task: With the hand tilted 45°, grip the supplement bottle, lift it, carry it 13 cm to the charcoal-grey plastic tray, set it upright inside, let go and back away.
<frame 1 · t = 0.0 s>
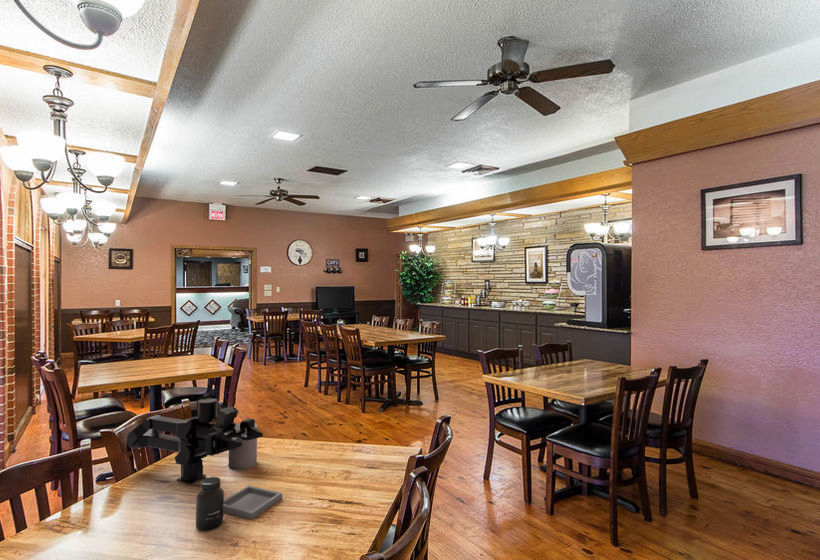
hand: (252, 439, 139), 17 cm above the table, tool horizontal, fingers open, 9 cm apart
pillar candle: (243, 465, 161), on the table
supplement bottle: (209, 525, 121), on the table
tray: (250, 504, 132), on the table
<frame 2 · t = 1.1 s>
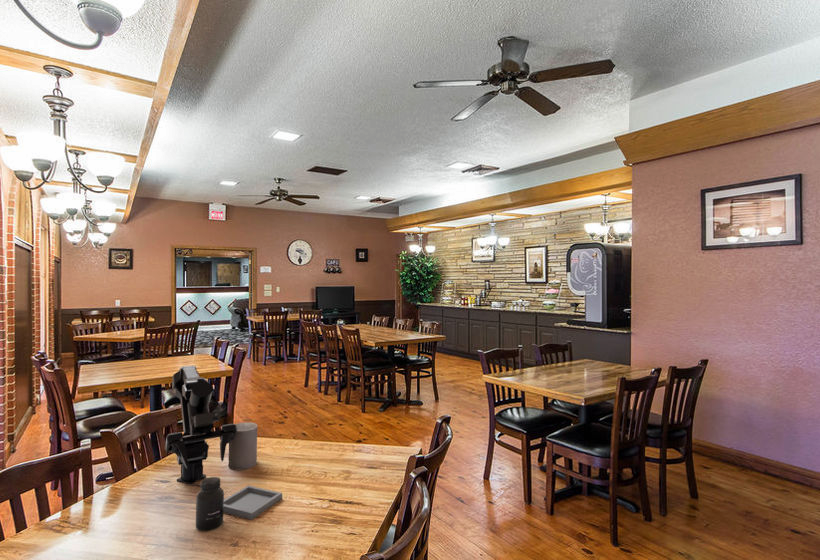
hand: (205, 464, 127), 14 cm above the table, tool tilted 45°, fingers open, 9 cm apart
nothing on the table moved.
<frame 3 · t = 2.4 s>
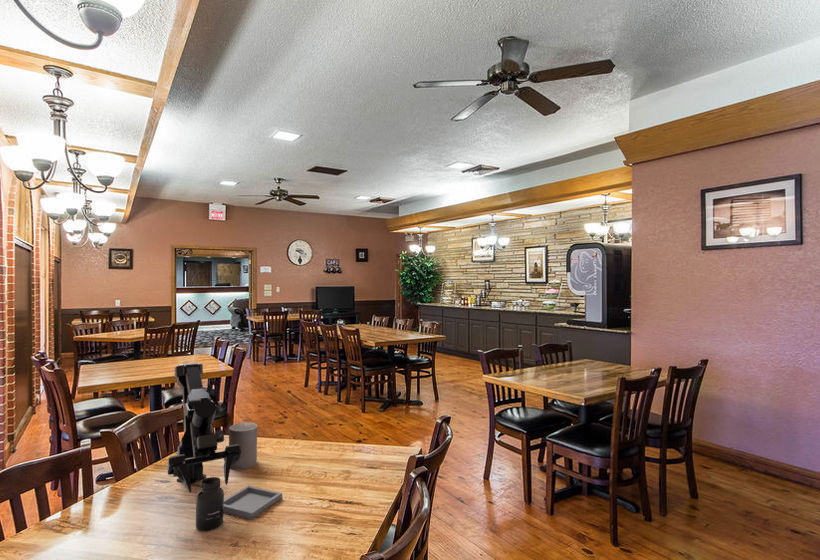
hand: (208, 488, 122), 9 cm above the table, tool tilted 45°, fingers open, 9 cm apart
nothing on the table moved.
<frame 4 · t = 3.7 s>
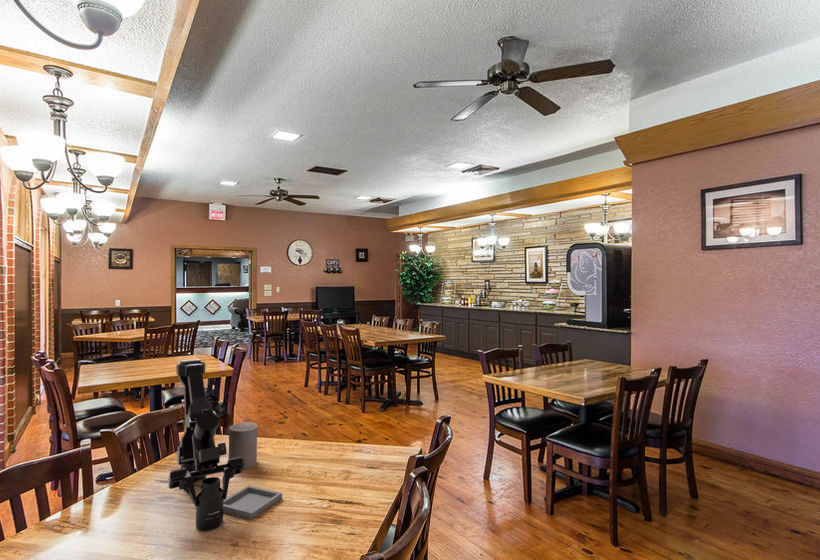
hand: (211, 502, 120), 7 cm above the table, tool tilted 45°, fingers closed on supplement bottle, 7 cm apart
supplement bottle: (209, 525, 121), on the table, touching gripper
everything else where it was.
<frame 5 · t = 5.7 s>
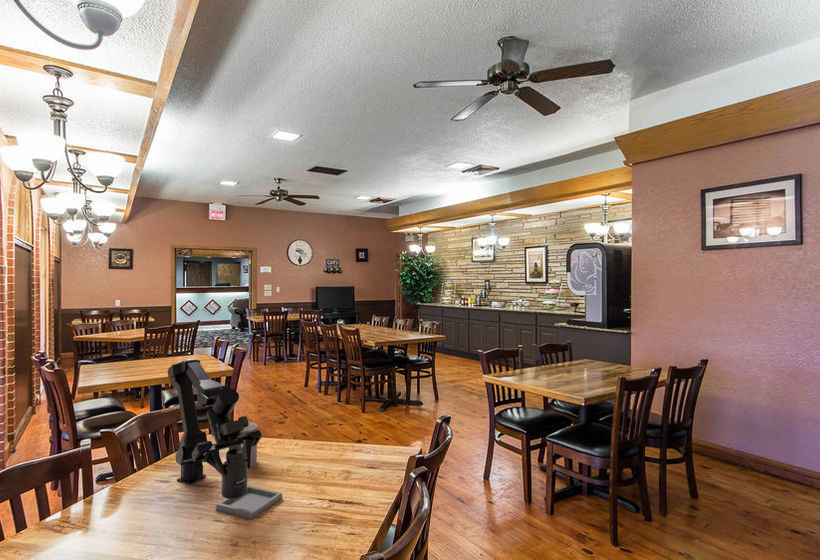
hand: (237, 471, 126), 12 cm above the table, tool tilted 45°, fingers closed on supplement bottle, 7 cm apart
supplement bottle: (234, 494, 127), point 5 cm above the table, touching gripper
everything else where it was.
when the fingers open (8 cm above the table, at t = 7.6 s): supplement bottle drops 1 cm, resting on tray.
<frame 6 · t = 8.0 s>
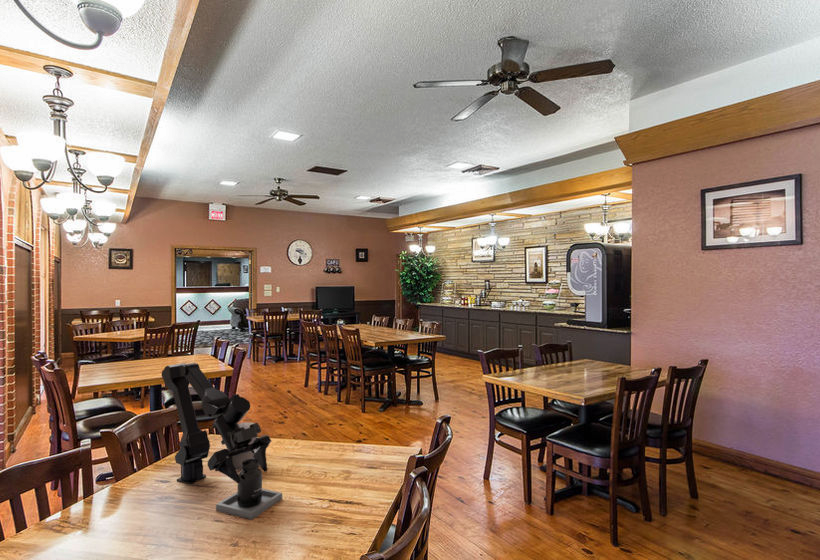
hand: (253, 476, 131), 9 cm above the table, tool tilted 45°, fingers open, 9 cm apart
supplement bottle: (249, 503, 132), resting on tray
everything else where it was.
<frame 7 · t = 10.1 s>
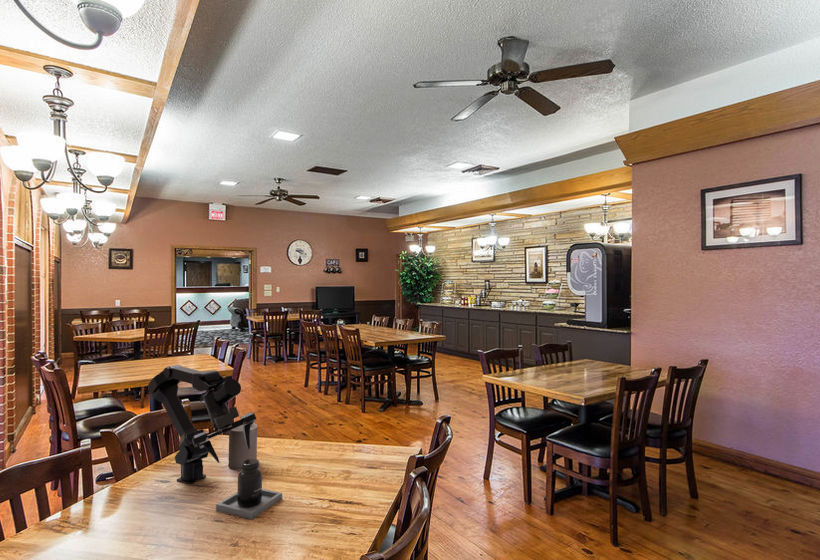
hand: (234, 455, 138), 12 cm above the table, tool tilted 30°, fingers open, 9 cm apart
nothing on the table moved.
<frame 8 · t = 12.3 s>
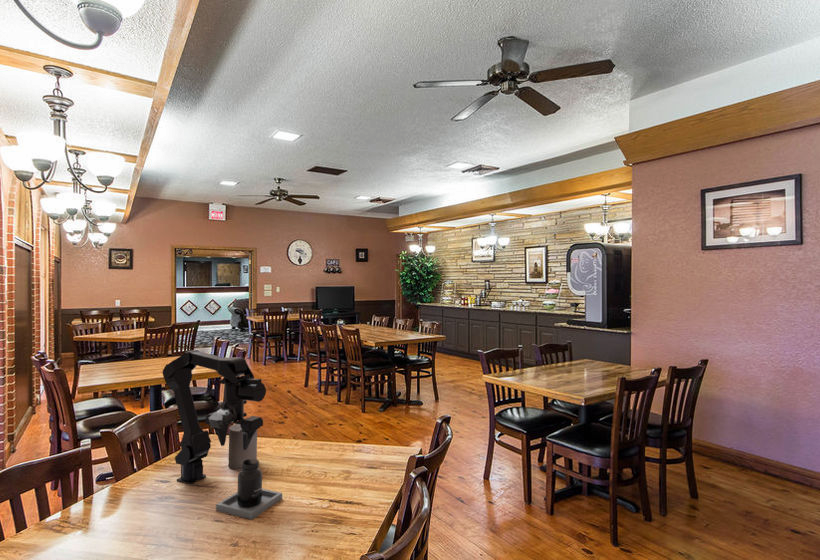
hand: (233, 447, 142), 13 cm above the table, tool pointing down, fingers open, 9 cm apart
nothing on the table moved.
at the end: supplement bottle 0.2 cm off-centre on the tray, point 0.3 cm above the tray's base; supplement bottle tilted 0°; the gripper is holding nothing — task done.
